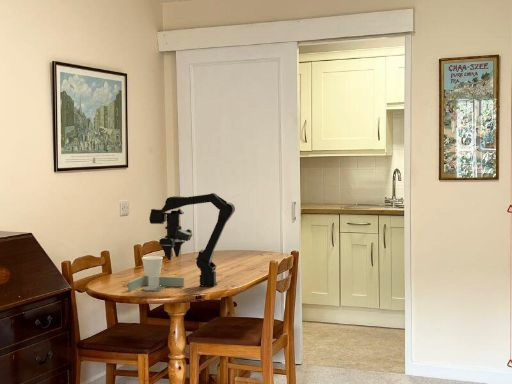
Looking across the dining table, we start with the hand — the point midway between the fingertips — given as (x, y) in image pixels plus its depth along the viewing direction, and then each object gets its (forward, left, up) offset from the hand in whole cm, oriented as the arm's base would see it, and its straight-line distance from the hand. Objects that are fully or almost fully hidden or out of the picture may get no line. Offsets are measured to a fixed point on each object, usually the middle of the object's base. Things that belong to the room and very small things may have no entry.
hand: (173, 258), depth 306 cm
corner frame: (+3, +11, -12) cm, 16 cm away
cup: (+13, -6, -12) cm, 19 cm away
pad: (+5, +11, -12) cm, 17 cm away
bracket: (+5, +13, -12) cm, 18 cm away
